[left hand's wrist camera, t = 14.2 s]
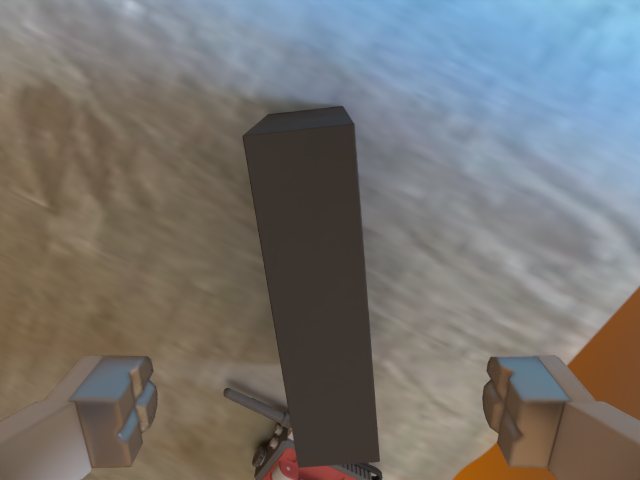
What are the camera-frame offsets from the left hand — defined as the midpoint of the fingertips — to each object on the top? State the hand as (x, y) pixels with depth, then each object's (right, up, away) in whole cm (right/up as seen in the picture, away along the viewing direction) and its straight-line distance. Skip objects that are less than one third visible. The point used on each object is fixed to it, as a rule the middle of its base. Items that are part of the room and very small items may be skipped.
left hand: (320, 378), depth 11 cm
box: (0, +2, +29) cm, 29 cm away
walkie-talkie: (-3, -19, +37) cm, 41 cm away
